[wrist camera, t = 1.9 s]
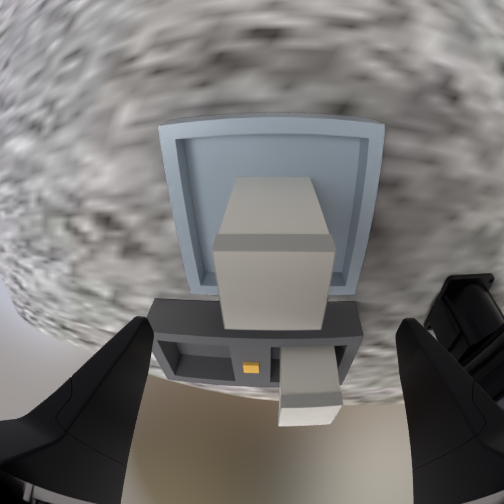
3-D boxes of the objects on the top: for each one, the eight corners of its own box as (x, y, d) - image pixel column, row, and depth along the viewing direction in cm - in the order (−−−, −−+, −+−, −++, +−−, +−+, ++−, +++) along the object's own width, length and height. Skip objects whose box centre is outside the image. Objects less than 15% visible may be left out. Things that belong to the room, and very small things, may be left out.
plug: (310, 176, 14) (336, 250, 9) (306, 239, 17) (321, 329, 11) (235, 176, 15) (211, 250, 9) (240, 239, 17) (224, 329, 11)
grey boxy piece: (354, 301, 20) (375, 391, 14) (337, 354, 25) (346, 428, 18) (154, 298, 22) (122, 380, 15) (175, 350, 26) (157, 420, 20)
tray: (371, 118, 13) (385, 124, 11) (348, 275, 19) (354, 294, 17) (171, 119, 13) (158, 126, 12) (196, 274, 20) (190, 293, 18)
